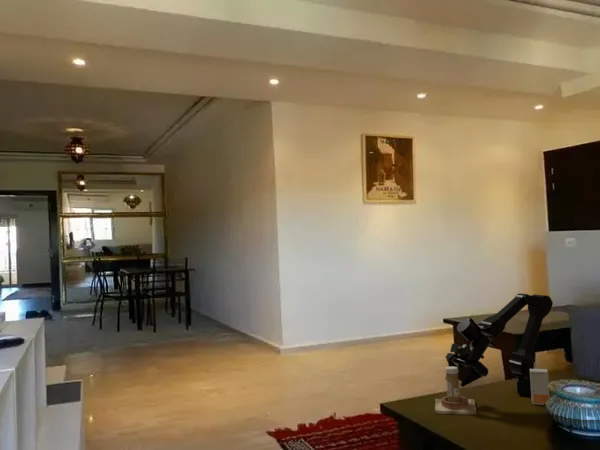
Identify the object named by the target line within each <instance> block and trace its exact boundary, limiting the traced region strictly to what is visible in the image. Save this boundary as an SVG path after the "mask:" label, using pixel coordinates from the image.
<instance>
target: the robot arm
mask: <svg viewBox="0 0 600 450" xmlns="http://www.w3.org/2000/svg"><path fill="white" fill-rule="evenodd" d="M553 304H554V301H553V300H552V298H551V297H550V295H546V294H545V295H543V294H532V295H530V294H528V293H516V294H515V295H514V298H512V299H511V300H510V301H509V302H508V303H507V304H505V306H503V307H502V308H501V309H500V310H499V311H497V313H495V314H494V315H490V316H488V317H485V318H484V319H483V320H481V322H480V323H476V322H475V321H474V319H473V318H471V317H466V318H465V319H464V320H462V321H460V322H459V323H458V324H457V327H456V330H457V331H458V333H459V334H460V335H461V336H463V338H465V340H466V341H468V342H470V343H469V345H468V344H466V343H463V345H460V344H457V343H453V342H452V344H451V347H450V351H449V352H448V353H447V354H446V356H445V359H446V362H447V364H448V366H447V367H449V366H454V367H458V373H459V372H460V371H462V368H463V367H466V368H467V369H466V370H467V371H466V373H465V375H464V377H463V379H462V380H461V383H460V386H461V387H466V386H467V385H469V384H471V383H473V382H474V381H476V380H477V381H478V380H479V379H482V378H483V377H485V378H486V377H487V376H488V374H489V368H488V367H487V366H485V365H484V364H483V363H482V362H481V361H480V360H481V359H482V360H483V359H484V358H485V356H484V354H485V352H486V351H487V349H488V347H493V348H495V347H496V343H495V340H494V339H493V338H490V337H489V336H491V337H495V338H497V337H499V336H500V335H501V334H502V333H503V331H504V330H505V329H506V325H507V324H508V323H509V321H511V320H512V319H513V318H514V317H515V316H516V315H517V314H518V313H519V312H520V311H522V309H523V308H525V307H526V306H527V310H528V314H529V315H528V320H527V322H526V325H525V328H524V332H523V336H522V339H521V342H520V345H519V348H518V350H517V351H516V352H511V354H510V358H509V361H508V364H509V365H508V366H509V369H510V372H511V373H512V375H513V377H516V379H517V380H515V390H516V393H517V394H518V395H519V397H531V382H530V369H534V362H535V360H534V356H533V354H534V350H535V348H536V345H537V344H536V343H537V339H538V337H539V334H540V331H541V327H542V323H543V321H544V319H545V318H546V317H547V316H548V315H549V314H550V312H551V309H552V308H553ZM445 381H447V379H446V378H445Z"/></svg>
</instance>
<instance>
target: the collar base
mask: <svg viewBox="0 0 600 450" xmlns="http://www.w3.org/2000/svg"><path fill="white" fill-rule="evenodd" d="M475 402H476V401H475V399H474V398H473V399H472V398H471V399H469V398H468V397H465V396H461V395H460V402H448V395H446V396H443V397H441V398H435V403H434V414H439V415H440V414H441V415H442V414H443V415H478V414H477V407H476V403H475Z"/></svg>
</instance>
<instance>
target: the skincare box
mask: <svg viewBox="0 0 600 450" xmlns="http://www.w3.org/2000/svg"><path fill="white" fill-rule="evenodd" d="M530 382H531V396H530V397H531V404H532V405H540V406H545V405H544V403H545V402H546V401H547V399H548V398H551V397H550V388H549V389H548V385H549V386H550V383H549V371H548V369H547V368H537V369H530Z"/></svg>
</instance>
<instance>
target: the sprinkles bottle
mask: <svg viewBox="0 0 600 450" xmlns="http://www.w3.org/2000/svg"><path fill="white" fill-rule="evenodd" d="M448 366H449V365H448ZM448 366H445V371H444V372H445V380H446V379H447V380H446V394H447V396H448V402H460V396H461V390H460V381H459V372H458V367H454V366H449V367H448Z"/></svg>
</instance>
